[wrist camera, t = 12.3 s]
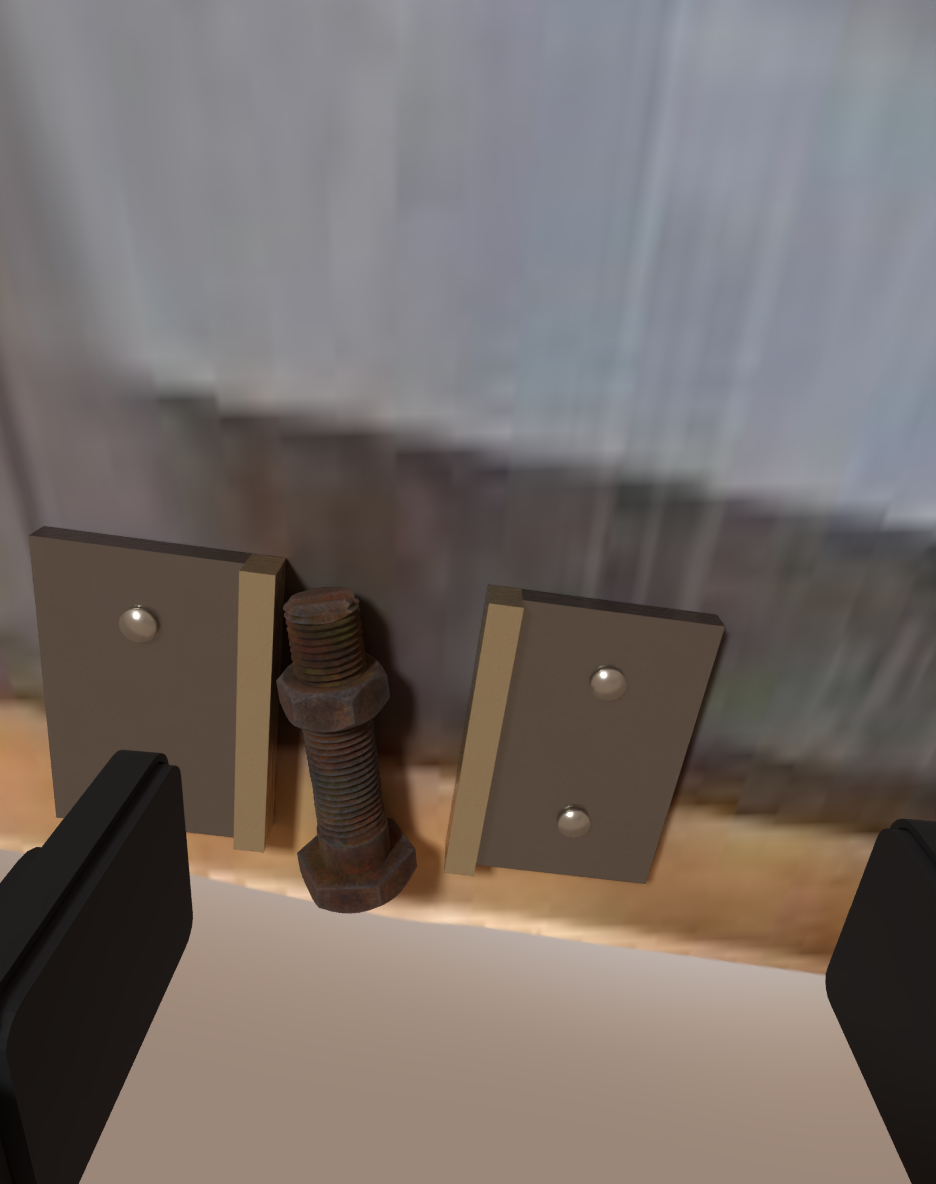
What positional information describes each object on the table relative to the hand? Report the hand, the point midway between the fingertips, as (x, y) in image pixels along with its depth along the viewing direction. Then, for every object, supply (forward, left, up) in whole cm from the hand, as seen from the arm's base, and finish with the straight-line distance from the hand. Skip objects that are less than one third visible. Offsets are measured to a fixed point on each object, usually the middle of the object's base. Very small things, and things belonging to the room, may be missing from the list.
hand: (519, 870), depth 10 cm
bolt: (+5, +14, -24) cm, 28 cm away
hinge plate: (+4, +13, -23) cm, 27 cm away
